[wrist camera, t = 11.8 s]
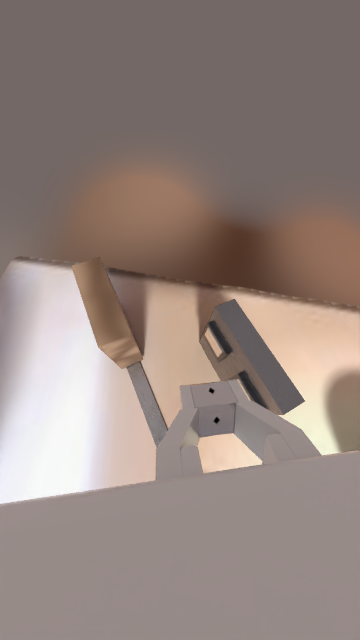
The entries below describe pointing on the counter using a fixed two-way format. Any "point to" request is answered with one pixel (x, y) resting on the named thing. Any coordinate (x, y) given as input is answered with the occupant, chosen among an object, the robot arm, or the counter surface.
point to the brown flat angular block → (106, 313)
